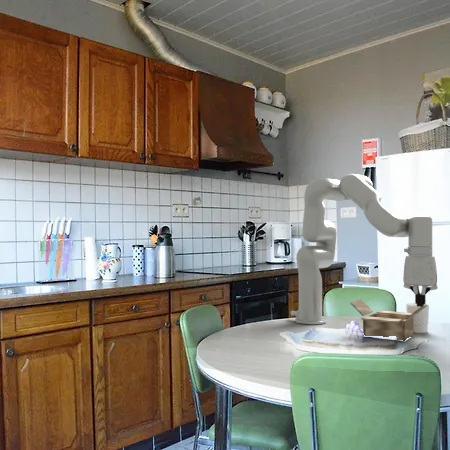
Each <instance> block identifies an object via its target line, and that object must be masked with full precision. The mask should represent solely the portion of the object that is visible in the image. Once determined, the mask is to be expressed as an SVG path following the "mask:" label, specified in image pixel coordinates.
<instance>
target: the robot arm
mask: <svg viewBox="0 0 450 450" xmlns="http://www.w3.org/2000/svg"><path fill="white" fill-rule="evenodd" d="M373 186H374V185H373V181H371V179H370V178H369V177H367V176H366V175H362V174H355V173H349V174H345V175H344V176H342V177H341V178H340V180H339V179H335V178H326V177H320V178H319V177H318V178H316V179H313V180H312V181H310V182H309V183H308V184H307V186H306V188H305V190H304V195H303V197H304V202H303V203H304V204H303V205H304V209H303V218H302V228H301V229H302V230H301V231H302V232H301V234H302V238H303V240H304V241H305V242H309V243H315V245H305V246H302V247H301V248H299V249H298V251H297V253H296V258H295V259H296V265H297V272H298V310H291V311H290V316H291V317H292V316H295V318H294V321H295V323H297V324H302V325H323V324H326V323H327V319H325V318H323V279H322V274H321V271H320V269H326V268H328V267H330V266H331V265H333V263H334V261H335V260H334V259H335V254H336V245H337V244H336V242H337V230H336V226H335V224H334V223H333V222H331V221H330V220H326V219H325V215H326V214H325V213H326V207H325V204H324V200H326V201H327V200H328V201H338V202H340V201H348V200H351V201H352V203H354V204H355V206H357V207H359V209H361V211H363V214H364V217H365V218H366V220H367V222H368V223H369V224H370V225H371V226H372V227H374V228H375V229H376V231H377V232H379V233H381V234H382V235H384V236H386V237H388V238H389V237H390V238H408V240H407V241H408V246H407V248H403V252H404V253H407V255H405V258H404V263H403V264H404V266H403V279H402V280H403V288H406V289H409V290H411V292H413V294H414V297H415V299H414V301H415V302H414V303H415V304H417V307H419V306H420V307H422V306H424V304H427V303H426V301H427V299H426V296H427V294H428V293H429V292H430V291H435V290H438V288H439V287H438V284H437V283H438V271H437V264H436V263H437V262H436V257H435V256H433V219H432V217H431V216H428V215H412V216H405V215H404V216H403V215H394V214H392V213H391V212H390V211H388V210H387V208H385V207H383V205H381V201H382V196H381V194H380V193H379V192H378V191H377V190H376V189H374V187H373ZM420 287H422V288H421V291H420Z"/></svg>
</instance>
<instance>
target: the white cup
mask: <svg viewBox="0 0 450 450" xmlns="http://www.w3.org/2000/svg"><path fill="white" fill-rule="evenodd" d="M426 304H427V303H425V304H424V305H426ZM405 307H406V313H413V312H415V311H416V310H417V309H419V308H420V306H419V307H417V304H415V302H413V303H409V302H408V303H406V304H405ZM429 310H430V305H429V304H427V306H426V307H425V308H424V309H422V310H421V311H420V312H419V313H417V314H416V315H415V316H413V333H414V334H415V333H416V334H426V333H428V330H429V329H428V328H429V327H428V325H429V317H430V316H429V315H430V311H429Z"/></svg>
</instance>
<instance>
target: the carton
mask: <svg viewBox="0 0 450 450" xmlns="http://www.w3.org/2000/svg"><path fill="white" fill-rule="evenodd" d="M411 314H412V313H407V312H402V311H401V312H400V311H391V310H378V311H376V312H372V313H369V314H366V315H364V316H362V317H361V319H360V320H362V334H363V333H364V335H365V336H383V337H389V336H396V337H397V340H403V341H405V340H406V339H407V338H409V337H412V338H413V337H414V335H415V333H413V317H411V318H409V319H407V320H406V318H407V317H408V316H410V315H411Z"/></svg>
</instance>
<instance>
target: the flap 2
mask: <svg viewBox="0 0 450 450" xmlns="http://www.w3.org/2000/svg"><path fill="white" fill-rule="evenodd" d="M425 304H426V305H424V306H422V307H420V308H419V309H417V310H416V311H415V312H413V313H412V314H411V315H410V316H408V317H407V318H406V320H407V319H409V318H411V317H413V316H415V315H416V314H417V313H419V312H420V311H421V310H422V309H424V308H425V307H426V306H427V305H428V304H427V303H425Z"/></svg>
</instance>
